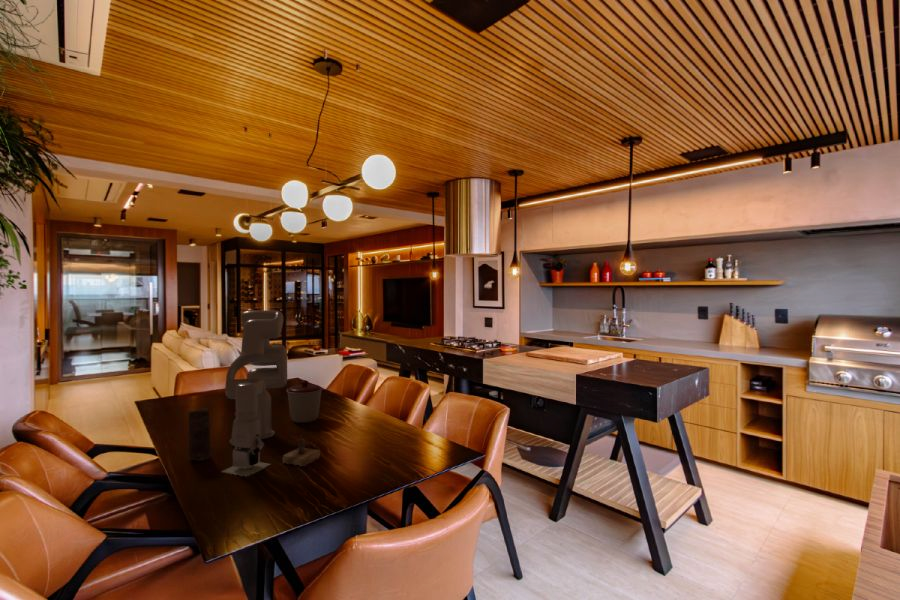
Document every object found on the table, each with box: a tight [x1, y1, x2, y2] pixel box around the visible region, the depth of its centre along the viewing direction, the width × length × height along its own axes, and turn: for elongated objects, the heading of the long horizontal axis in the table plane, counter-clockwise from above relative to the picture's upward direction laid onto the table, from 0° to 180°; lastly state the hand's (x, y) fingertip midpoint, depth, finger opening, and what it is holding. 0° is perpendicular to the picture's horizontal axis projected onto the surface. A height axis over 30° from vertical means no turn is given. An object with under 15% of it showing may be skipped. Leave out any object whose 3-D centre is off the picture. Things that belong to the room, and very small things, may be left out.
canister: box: [286, 380, 324, 424], centre depth 226 cm, size 18×18×21 cm
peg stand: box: [282, 438, 321, 467], centre depth 171 cm, size 10×10×8 cm
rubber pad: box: [220, 461, 272, 478], centre depth 163 cm, size 12×12×1 cm
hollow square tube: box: [232, 447, 261, 469], centre depth 163 cm, size 7×7×6 cm
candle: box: [188, 407, 212, 462], centre depth 172 cm, size 8×7×20 cm
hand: (246, 462), depth 163 cm, fingers closed on hollow square tube, 6 cm apart
